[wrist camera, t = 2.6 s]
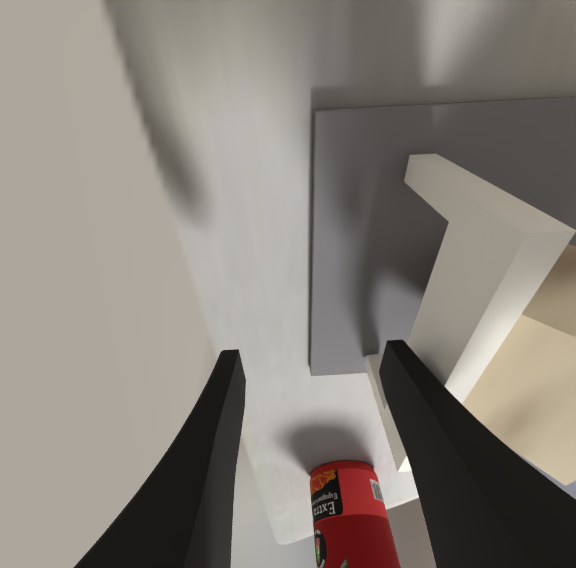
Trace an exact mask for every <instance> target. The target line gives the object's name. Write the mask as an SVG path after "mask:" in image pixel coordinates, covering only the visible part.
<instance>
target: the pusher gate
mask: <svg viewBox="0 0 576 568" xmlns="http://www.w3.org/2000/svg"><path fill="white" fill-rule="evenodd" d="M404 182H405V183H406V184H407V185H408V186H409V187H411V188H412V189H413V190H414V191H415V192H416V193H417V194H418V195H419V196H421V197H422V198H423V199H424V200H425V201H426V202H427V203H428V204H429V205H431V206H432V207H433V208H434V209H435V210H436V211H437V212H438V213H440V214H441V215H442V216H443V217H444V218H445V219H446V220H447V221H448V222H449V223H448V226H447V229H446V232H445V235H444V238H443V241H442V244H441V247H440V250H439V253H438V256H437V258H436V261H435V264H434V267H433V270H432V273H431V276H430V279H429V282H428V285H427V288H426V291H425V294H424V296H423V299H422V302H421V305H420V308H419V311H418V314H417V317H416V320H415V323H414V326H413V329H412V331H411V334H410V337H409V340H408V343H407V345H408V346H409V347H410V348H411V349H412V351H413V352H414V353H415V354H416V355H417V356H418V358H419V359H420V360H421V361H422V362H423V363H424V364H425V366H426V367H427V368H428V369H429V370H430V371H431V372H432V373H433V375H434V376H435V377H436V378H437V379H438V380H439V381H440V382H441V383H442V384H443V385H444V386H445V387H446V388H447V390H448V391H449V392H450V393H451V394H452V395H453V396H454V397H455V398H456V399H457V400H458V401H459V402H460V403H461V404H462V403H463V402H464V400H465V399H466V397H467V396H468V394H469V393H470V391H471V390H472V388H473V387H474V385H475V384H476V382H477V381H478V379H479V378H480V376H481V375H482V373H483V372H484V370H485V368H486V367H487V365H488V364H489V362H490V361H491V359H492V358H493V356H494V355H495V353H496V352H497V350H498V349H499V347H500V346H501V344H502V343H503V341H504V340H505V338H506V337H507V335H508V334H509V332H510V331H511V329H512V328H513V326H514V325H515V323H516V322H517V320H518V319H519V317H520V315H521V314H522V312H523V311H524V309H525V308H526V306H527V305H528V303H529V302H530V300H531V299H532V297H533V296H534V294H535V293H536V291H537V290H538V288H539V287H540V285H541V284H542V282H543V281H544V279H545V278H546V276H547V275H548V273H549V272H550V270H551V269H552V267H553V266H554V264H555V262H556V261H557V259H558V258H559V256H560V255H561V253H562V252H563V250H564V249H565V247H566V246H567V244H568V243H569V241H570V240H571V238H572V237H573V235H574V234H575V232H576V230H575V229H573V228H571V227H569V226H567V225H566V224H564V223H562V222H560V221H558V220H556V219H555V218H553V217H551V216H549V215H547V214H545V213H544V212H542V211H540V210H538V209H536V208H535V207H533V206H531V205H529V204H527V203H525V202H524V201H522V200H520V199H518V198H516V197H514V196H513V195H511V194H509V193H507V192H505V191H503V190H502V189H500V188H498V187H496V186H494V185H493V184H491V183H489V182H487V181H485V180H483V179H482V178H480V177H478V176H476V175H474V174H472V173H471V172H469V171H467V170H465V169H463V168H462V167H460V166H458V165H456V164H454V163H452V162H451V161H449V160H447V159H445V158H443V157H441V156H440V155H438V154H417V155H410V156H409V160H408V165H407V170H406V174H405V179H404ZM382 357H383V354H373V355H367V356H366V361H365V367H366V370H367V373H368V376H369V380H370V383H371V386H372V390H373V393H374V396H375V399H376V403H377V406H378V409H379V412H380V416H381V419H382V422H383V425H384V429H385V432H386V435H387V439H388V442H389V445H390V448H391V452H392V455H393V458H394V461H395V465H396V468H397V471H398V472H404V471H412V470H411V467H410V464H409V461H408V458H407V455H406V452H405V449H404V447H403V444H402V441H401V439H400V436H399V433H398V431H397V428H396V426H395V423H394V420H393V418H392V415H391V412H390V409H389V407H388V404H387V401H386V399H385V395H384V391H383V388H382V384H381V379H380V375H379V368H380V365H381V361H382Z"/></svg>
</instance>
